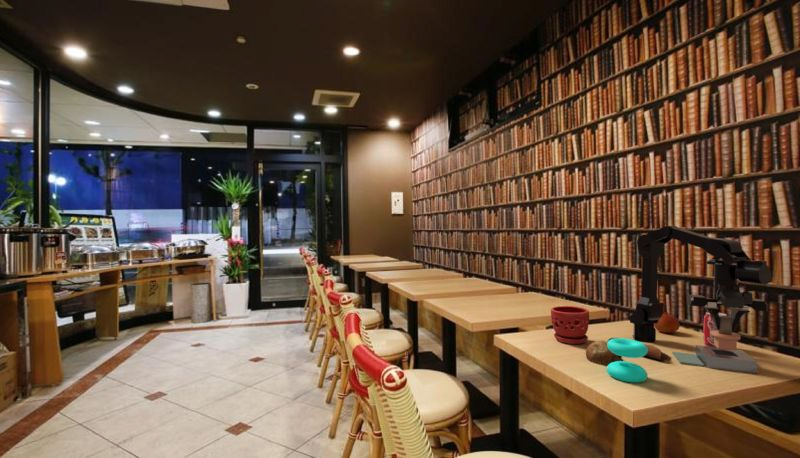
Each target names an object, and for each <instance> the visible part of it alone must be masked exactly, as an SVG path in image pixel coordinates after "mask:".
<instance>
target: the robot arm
mask: <svg viewBox="0 0 800 458" xmlns="http://www.w3.org/2000/svg"><path fill="white" fill-rule="evenodd" d="M672 240H676V241H679V242H681V243H685V244H688V245H691V246H694V247H696V248H699V249H702V250H703V251H704V252H705V253H707V254H708V255H711V257H712V258H710V259H709V260H708V261H706V265H711V266H713V282H712V285H713V295H712V298H708V297H706V296H703V294H702V295H701V294H688V295H687V297H686V303H687V304H688V305H690V306H692V307H701V308H704V309H706V310H707V312H709V313H710V315H711V317H712V319H713V321H714V324H715V326H716V328H717V330H719V328H720V324H719V313H720V308H718V306H722V307H724V308H725V309H726V308H727V309H730V310H731V311H730V318H732V332H734V331H735V329H736V327H737V326H738V324H739V322H740V320H741V318H742V317H743V316H744V315H745V314H747V313H748V314H750V312H751V311H750V310H749V308H752V310H753V311H758V312H759V311H760V312H768V311H769V306H768V304H769V303H767V302H766V301H765V300H763V299H760V298H753V293H752V291H741V290H740V286H739V285H740V284H739V282H741V283H747V284H755V285H768V284H769V283H771V279H772V271H771V268H770V267H769V265H768V263H767V260H752V259H751V258H750V257H749V256H748V254H747V253H746V252H745V251H744V250H743V246H742V245H741V242H739V241H738V240H735V239H730V238H721V237H720V238H719V237H712V236H709V235H708V236H707V235H704V234H702V233H697V232H694V231H691V230H688V229H684V228H680V227H678V226H677V225H665V226H662V227H660V228H658V229H656V230H654V231H651V232H648V233H646V234H641V235H640V236H639V237H638V238H637V240H636V243H637V250H638V253H639V255H640V257H641V259H642V260H641V261H642V263H641V295H640V298H639V299H638V300H637V302H636V306H635V311H634V312H633V313H631V315H629V317H628V319H629V322H630V324H632V325H633V334H632V337H633V340H636V341H639V342H648V343H656V340H657V339H656V337H657V333H656V332H657V329H656V328H655V327H654V324H657V323H658V321H659V319H660V318H661V317H662V314H664V312H665V311H664V306H665V305H664V302H660V300H659V299H658V273H659V272H658V271H659V270H658V269H659V257H660V256H661V255H662V253H663V251H664V246H665V245H666V244H668V243H670V242H671V241H672Z"/></svg>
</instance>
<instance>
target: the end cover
mask: <svg viewBox="0 0 800 458" xmlns="http://www.w3.org/2000/svg"><path fill="white" fill-rule="evenodd" d="M719 324H720V328H719V331H710V335H711V336H713V337H714V345H715V346H716V347H717V348H718V349H725V350H734V351H737V350H738V348H737V345H738V344H737V343H738V342H737V341H740V340H741V335H740V334H739V333H735V332H733V331H732V318H731V316H727V317H724V316H719Z"/></svg>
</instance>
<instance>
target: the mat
mask: <svg viewBox="0 0 800 458" xmlns="http://www.w3.org/2000/svg"><path fill="white" fill-rule="evenodd" d="M672 355H674V357H675V358H676V360H677V361H678V362H679V364H680V365H687V366H695V367H703V368H704V367H705V365H704V364H703V363H702V362H701V361H700V360H699V359H698V358H697V356H696V353H691V352H690V353H688V352H680V351H672Z"/></svg>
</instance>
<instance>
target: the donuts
mask: <svg viewBox="0 0 800 458" xmlns="http://www.w3.org/2000/svg"><path fill="white" fill-rule="evenodd" d="M614 338H615V339H611V340H609V339H608V340H609V341H608V340H607V342H608V343H607V347H608V349H609V350H610V351H611V352H612V353H614V354H616V355H619V356H622V358H627V359H628V358H629V359H638V358H639V359H640V358H643V357H646V356H645V355H646V354H647V352H648V349H647V346H646V345H645V343H643V342H642V341H636V340H634V339H630V338H623V337H614ZM606 366H607V367H606V372H607V374H608V375H609V376H610V377H612V378H613V379H616V380H619V381H622V382H626V383H637V384H638V383H642V382H645V381H646V380H647V378H648V372H647V371H646V369H645V368H644V367H642V366H641V365H639V364H636V363H634V362H629V361H626V360H625V361H624V360H623V361H616V362H612V363H610V364H609V365H606Z"/></svg>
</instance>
